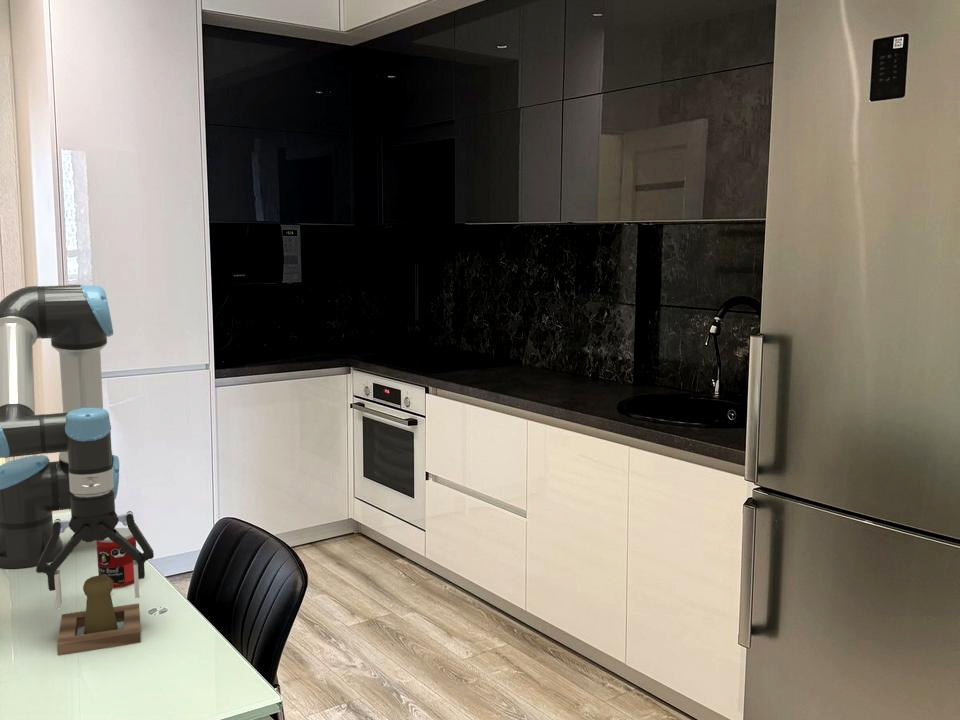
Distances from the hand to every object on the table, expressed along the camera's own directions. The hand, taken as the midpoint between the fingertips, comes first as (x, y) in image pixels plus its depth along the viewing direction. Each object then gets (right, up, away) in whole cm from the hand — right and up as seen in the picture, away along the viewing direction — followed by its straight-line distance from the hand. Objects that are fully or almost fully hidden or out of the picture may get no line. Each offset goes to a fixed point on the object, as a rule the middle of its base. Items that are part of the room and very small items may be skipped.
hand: (98, 600), depth 167 cm
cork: (0, -7, +1) cm, 7 cm away
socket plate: (0, -6, +1) cm, 6 cm away
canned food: (-7, -3, +26) cm, 27 cm away
